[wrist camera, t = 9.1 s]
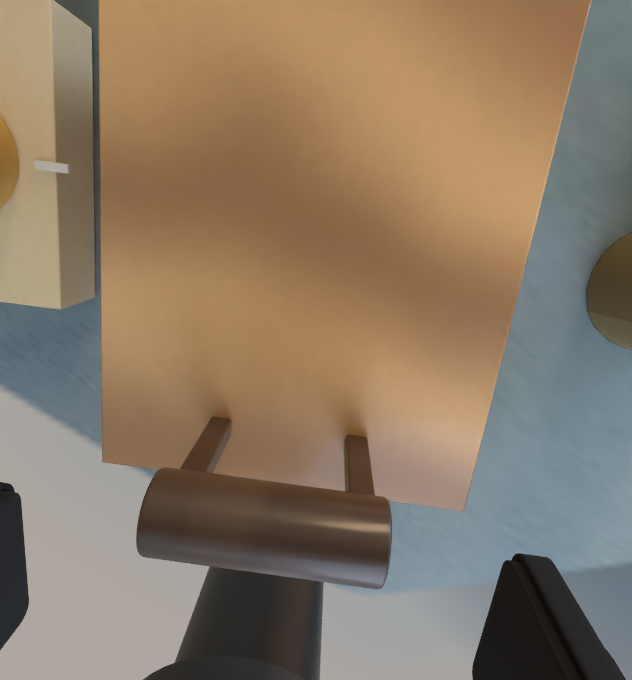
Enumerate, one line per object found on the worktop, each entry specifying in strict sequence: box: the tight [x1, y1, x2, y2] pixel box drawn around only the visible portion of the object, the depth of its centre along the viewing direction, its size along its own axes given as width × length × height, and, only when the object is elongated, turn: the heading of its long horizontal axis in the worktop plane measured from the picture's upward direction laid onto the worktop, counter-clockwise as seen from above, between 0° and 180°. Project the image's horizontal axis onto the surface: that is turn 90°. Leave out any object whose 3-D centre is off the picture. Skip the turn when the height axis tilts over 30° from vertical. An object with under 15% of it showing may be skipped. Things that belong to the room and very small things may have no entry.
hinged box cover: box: [99, 0, 592, 589], centre depth 11 cm, size 16×13×6 cm
